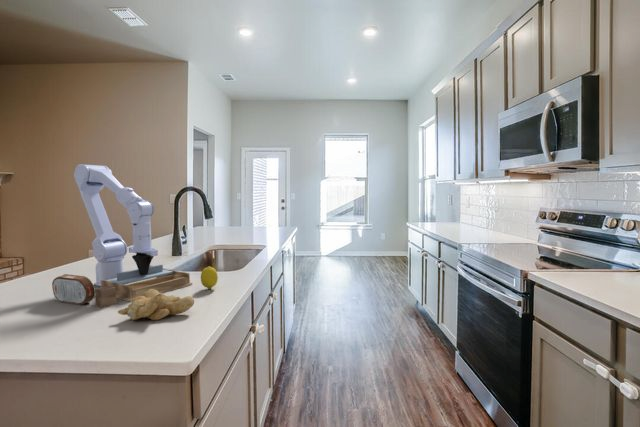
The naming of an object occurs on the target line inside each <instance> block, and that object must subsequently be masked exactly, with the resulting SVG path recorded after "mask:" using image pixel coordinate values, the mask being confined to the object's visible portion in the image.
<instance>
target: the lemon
mask: <svg viewBox="0 0 640 427" xmlns="http://www.w3.org/2000/svg"><path fill="white" fill-rule="evenodd" d="M200 273H201V274H200V282H201V285H202V286H203V287H205V288H207V289H208V290H211V289H212V288H213V287H215V286H216V284H217V283H218V279H219V276H218V272H217V270H216V269H215V267H212V266H210V265H209V266H208V265H207V267H204V268H203V269H202V271H201V272H200Z"/></svg>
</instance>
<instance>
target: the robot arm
mask: <svg viewBox="0 0 640 427" xmlns="http://www.w3.org/2000/svg"><path fill="white" fill-rule="evenodd" d="M73 177H74V181H75V183H76V186H77V187H78V190H79V193H80V196H81V199H82V201H83V204H84V206H85V209H86V212H87V214H88V217H89V219H90V222H91V225H92V228H93V229H94V233H95V235H96V237H95V238H94V240H92V241H91V246H92V253H93V256H94V258H95V259H96V260H97V261H96V262H97V263H96V264H95V279H96V281H95V282H94V283H93V285H95V286H99V287H101V280H109V279H114V278H117V273H121V272H124V262H123V259H125V256H126V255H127V254H128V253H132V254H134V255H132V256H131V257H132V259H133V261H134V263H135V264H136V267H137V269H138V270H139V273H140V275H147V274H148V271H149V267H151V266H150V265H151V262H152V260H153V259H154V257H156V256H159V254H158V253H159V252H158V250H159V249H155V248H154V247H153V245H152V226H151V225H152V224H151V217H152V216H153V215H154V213H155V207H154V205H153V203H152V202H151V201H150V200H145V199H143V198H142V197H141V196H139V195H138V194H137V193H136V192H135V191H134V189H133V188H132V187H127V186H126V187H124V185H122V183H120V181H119V180H117V178H116V177H115V176H114V175H113V173H112V169H110V168H109V167H108V166H106V165H103V164H102V165H97V164H96V165H94V164H83V163H80V164H77V165H76V167H75V169H74V172H73ZM105 187H106V188H107V189H108V190H110V191H111V192H113V193H114V194H115V199H116V200H117V201H118V202H119V203H120V204H121V205H122V206H123V208H125V209H126V213H127V214H128V217H129V218H130V219H129V220H130V223H131V226H132V244H133V245H132V246H129V247H128V245H127V243H126V242H125V241H124V240H123V238H122V236H121V235H120V234H118V233H117V232H115V231H113V230H114V229H113V227H112V225H111V222H110V219H109V216H108V214H107V211H106V209H105V206H104V204H103V201H102V199H101V196H100V193H99V192H100V191H102V190H103V189H104V188H105Z"/></svg>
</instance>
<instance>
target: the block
mask: <svg viewBox="0 0 640 427" xmlns="http://www.w3.org/2000/svg"><path fill="white" fill-rule="evenodd" d="M94 289H95V295H94V298H95V306H97V307H100V308H106V307H109V306H113V305H116V304H117V298H116V287H112V286H105V287H101V286H100V287H98V288H94Z"/></svg>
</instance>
